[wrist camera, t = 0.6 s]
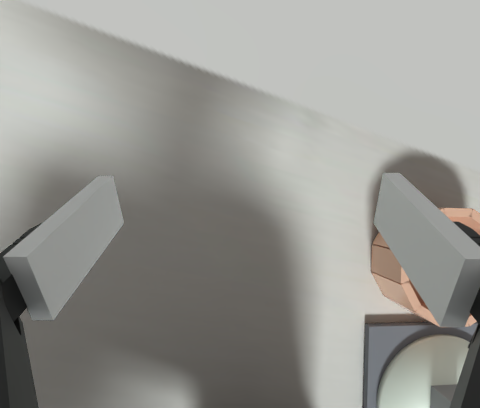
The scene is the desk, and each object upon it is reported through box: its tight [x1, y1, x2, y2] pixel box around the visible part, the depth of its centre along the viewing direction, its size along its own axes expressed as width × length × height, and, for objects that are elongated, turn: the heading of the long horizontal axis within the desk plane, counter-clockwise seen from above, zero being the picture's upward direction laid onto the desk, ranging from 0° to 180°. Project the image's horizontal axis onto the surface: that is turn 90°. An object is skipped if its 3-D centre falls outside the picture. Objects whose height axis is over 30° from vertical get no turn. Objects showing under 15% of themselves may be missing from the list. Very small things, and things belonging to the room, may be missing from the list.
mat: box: [363, 322, 478, 408], centre depth 34 cm, size 16×16×1 cm
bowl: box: [371, 207, 480, 327], centre depth 31 cm, size 11×11×5 cm
